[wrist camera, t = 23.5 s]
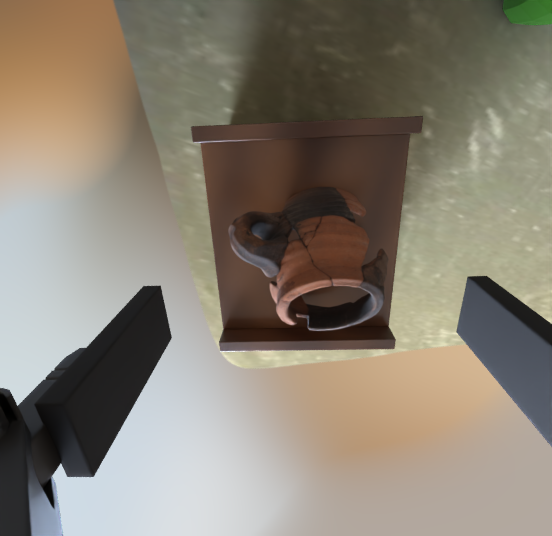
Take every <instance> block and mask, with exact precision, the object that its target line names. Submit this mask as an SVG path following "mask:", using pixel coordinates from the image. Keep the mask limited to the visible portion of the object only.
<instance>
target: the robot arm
mask: <svg viewBox="0 0 552 536" xmlns="http://www.w3.org/2000/svg"><path fill="white" fill-rule="evenodd" d="M457 333H458V334H459V336H460V337H461V338H462V339H463V340H464V342H465V343H466V344H467V345H468V346H469V348H470V349H471V350H472V351H473V352H474V354H475V355H476V356H477V357H478V358H479V360H480V361H481V362H482V363H483V364H484V366H485V367H486V368H487V369H488V371H489V372H490V373H491V374H492V375H493V377H494V378H495V379H496V380H497V381H498V383H499V384H500V385H501V386H502V387H503V389H504V390H505V391H506V392H507V393H508V395H509V396H510V397H511V398H512V399H513V401H514V402H515V403H516V404H517V405H518V407H519V408H520V409H521V410H522V411H523V413H524V414H525V415H526V416H527V417H528V419H529V420H530V421H531V422H532V424H533V425H534V426H535V427H536V428H537V430H538V431H539V432H540V433H541V434H542V436H543V437H544V438H545V439H546V440H547V442H548V443H549V444H550V445H551V446H552V324H551V323H550V322H548V321H547V320H545V319H544V318H543V317H541V316H540V315H539V314H537V313H536V312H535V311H533V310H532V309H531V308H529V307H528V306H527V305H525V304H524V303H522V302H521V301H520V300H518V299H517V298H516V297H514V296H513V295H512V294H510V293H509V292H508V291H506V290H505V289H504V288H502V287H501V286H499V285H498V284H497V283H495V282H494V281H493V280H491V279H490V278H489V277H487V276H471V277H468V278H467V283H466V288H465V292H464V297H463V302H462V307H461V312H460V317H459V322H458V327H457ZM171 338H172V337H171V332H170V328H169V323H168V318H167V314H166V309H165V304H164V300H163V295H162V290H161V286H143V287H142V289H140V291H139V292H138V293H137V294H136V295H135V296H134V297H133V298H132V299H131V300H130V301H129V303H127V305H126V306H125V307H124V308H123V309H122V310H121V311H120V312H119V313H118V314H117V315H116V317H115V318H114V319H113V320H112V321H111V322H110V323H109V324H108V325H107V326H106V327H105V328H104V329H103V331H102V332H101V333H100V334H99V335H98V336H97V337H96V338H95V339H94V340H93V341H92V342H91V344H89V346H88V347H87V348H79V349H78V350H76V351H75V352H73V353H72V354H70V355H69V356H67V357H66V358H64V359H63V360H62V361H61V362H60V363H59V365H58V366H57V367H56V368H55V370H54V371H52V372H51V373H50V374H49V375H48V376H47V377H46V379H45V380H43V381H42V382H41V383H40V384H39V385H38V386H37V387H36V388H35V389H34V390H33V391H32V392H31V393H30V394H29V395H28V396H27V397H26V398H25V399H24V400H23V401H22V402H21V403H20V404H19V405H18V406H17V405H16V402H15V400H14V398H13V396H12V394H11V392H10V390H7V389H4V388H0V536H63V531H62V524H61V517H60V511H59V503H58V497H57V490H56V484H55V482H54V480H53V477H52V475H53V474H54V472H55V471H56V469H57V468H58V466H59V465H60V463H61V464H62V466H63V468H64V470H65V472H66V475H67V477H94V475H95V473H96V472H97V470H98V468H99V466H100V464H101V463H102V461H103V459H104V457H105V455H106V454H107V452H108V450H109V448H110V447H111V445H112V443H113V441H114V440H115V438H116V436H117V434H118V432H119V431H120V429H121V427H122V425H123V423H124V422H125V420H126V418H127V416H128V415H129V413H130V411H131V409H132V408H133V406H134V404H135V402H136V400H137V398H138V397H139V395H140V393H141V392H142V390H143V388H144V386H145V384H146V383H147V381H148V379H149V377H150V375H151V374H152V372H153V370H154V368H155V366H156V365H157V363H158V361H159V360H160V358H161V356H162V354H163V352H164V350H165V349H166V347H167V345H168V344H169V342H170V340H171Z"/></svg>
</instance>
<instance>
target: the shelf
mask: <svg viewBox="0 0 552 536" xmlns="http://www.w3.org/2000/svg"><path fill="white" fill-rule="evenodd" d="M422 122H423V116H413V117H391V118H369V119H347V120H325V121H302V122H280V123H258V124H236V125H214V126H192V127H191V131H192V138H193V143H201V150H202V158H203V167H204V175H205V183H206V191H207V199H208V208H209V216H210V224H211V232H212V240H213V249H214V257H215V265H216V273H217V281H218V289H219V298H220V306H221V314H222V322H223V332H222V335H221V338H220V341H219V345H220V351H221V352H222V351H289V350H356V349H394V348H395V340H396V339H395V337H394V336H393V334H392V332H391V330H390V328H389V318H390V309H391V300H392V291H393V282H394V273H395V264H396V255H397V246H398V237H399V228H400V219H401V210H402V201H403V192H404V183H405V174H406V165H407V156H408V147H409V138H410V134H411V133H421V130H422ZM316 187H334V188H339V189H342V190H345V191H347V192H350V193H351V194H353V195H354V196H356V197H357V199H358V201H359V202H360V203H361V204H362V205H363V207H364V208H365V210H366V215H365V216H363V217H361V216H360V215H358V214H356V213H355V212H352V211H351V210H350V211H351V213H352V214H353V216H354V218H355V220H356V221H355V224H356V225H358V226H360V227H362V228H363V229H364V230H365V232H366V233H367V236H368V238H369V245H368V249H367V252H366V254H365V259H364V261H363V263H362V266H363V265H365V264H368V263H369V262H371V261H372V260H373V259H374V258H376V257H377V253H378V251H379V249H384V251H385V252H386V255H387V257H388V264H387V276H386V278H385V281H384V287H385V288H384V297H385V299H384V303H383V306H382V308H381V309H380V310H379V312H378V313H376V314H375V315H374V316H372V317H371V318H369V319H367V320H365V321H363V322H361V323H358V324H355V325H351V326H349V327H345V328H342V329H336V330H326V331H312V330H309V329H308V320H307V318H303V317H297V323H296V324H294V325H289V324H287V323H285V322H284V321H282V320H281V318H280V317H279V316H278V314H277V311H276V308H277V303H276V302H275V301H274V299H273V297H272V295H271V291H270V282H271V281H274V282H276V283H277V275H276V276H274V277H267V276H266V275H265V274H264V272H263V271H262V269H261V268H259V267H257V266H255V265H253V264H250V263H247V262H245V261H244V260H242V259H241V258H240V257H238V256H237V255H236V253H235V252H234V251H233V249H232V247H231V242H230V236H229V232H228V229H229V227H230V225H231V224H232V223H233V221H234V220H235V219H236V218H237V217H238V216H240V215H243V214H245V213H247V212H250V211H260V212H267V213H275V212H282V210H283V207H284V206H285V203H286V201H287V200H288V199H289V198H291V197H292V196H294V195H295V194H297V193H299V192H301V191H303V190H306V189H310V188H316ZM255 236H256V237H258V238H260V239H261V237H260V236H258V235H255ZM294 239H299V236H298V234H297V232H296V231H295V230H292V232H291V234H290V235H289V237H288V242H290V241H291V240H294ZM368 293H369V292H367V291H365V290H363V289H361V288H359V287H351V286H334V285H332V286H329V287H323V288H318V289H315V290H312V291H309V292H307V293H304V294H302V295H301V296H302V298H303V300H304V302H305V303H306V304H310V305H316V306H321V307H333V306H338V305H341V304H344V303H348V302H352V303H354V302H355V301H357V300H358V299H360V298H361V297H363V296H365V295H367V294H368Z"/></svg>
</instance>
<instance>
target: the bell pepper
mask: <svg viewBox="0 0 552 536" xmlns="http://www.w3.org/2000/svg"><path fill="white" fill-rule="evenodd" d="M503 11H504V13H505V15H506V16H507V18H508V20H509V21H510V22H511V23H516V24H525V25H545V24H552V0H504V3H503Z"/></svg>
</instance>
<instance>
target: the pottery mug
mask: <svg viewBox="0 0 552 536" xmlns="http://www.w3.org/2000/svg"><path fill="white" fill-rule="evenodd" d="M350 210H351V211H352V212H355V213H356V214H358V215H360V216H361V217H363V216H365V215H366V210H365V208H364V207H363V205H362V204H361V203H360V202H359V201H358V199H357V197H356V196H354V195H353V194H351V193H350V192H347V191H345V190H342V189H339V188H334V187H316V188H310V189H306V190H303V191H301V192H299V193H297V194H295V195H294V196H292V197H291V198H289V199H288V200H287V201H286V203H285V206H284V207H283V210H282V212H275V213H267V212H260V211H250V212H247V213H245V214H243V215H240V216H238V217H237V218H236V219H235V220H234V221H233V223H232V224H231V225H230V227H229V229H228V232H229V236H230V242H231V247H232V249H233V251H234V252H235V253H236V255H237V256H238V257H240V258H241V259H242V260H244V261H245V262H247V263H250V264H253V265H255V266H257V267H259V268H261V269H262V271H263V272H264V274H265V275H266V276H267V277H274V276H276V275H277V283H276V282H274V281H271V282H270V291H271V295H272V297H273V299H274V301H275V302H276V303H277V308H276V311H277V314H278V316H279V317H280V318H281V320H282V321H284V322H285V323H287V324H289V325H294V324H296V323H297V317H303V318H307V320H308V329H309V330H312V331H326V330H336V329H342V328H345V327H349V326H351V325H355V324H358V323H361V322H363V321H365V320H367V319H369V318H371V317H372V316H374V315H375V314H376V313H378V312H379V310H380V309H381V308H382V306H383V303H384V299H385V297H384V288H385V287H384V281H385V278H386V276H387V264H388V257H387V255H386V252H385V251H384V249H379V251H378V253H377V257H376V258H374V259H373V260H372V261H371V262H369V263H368V264H365V265H363V266H362V263H363V261H364V259H365V254H366V252H367V249H368V245H369V238H368V236H367V233H366V232H365V230H364V229H363V228H362V227H360V226H358V225H356V224H355V221H356V220H355V218H354V216H353V214H352V213H351V211H350ZM292 230H295V231H296V232H297V234H298V236H299V239H294V240H291V241H290V242H288V237H289V235H290V234H291V232H292ZM255 235H258V236H260V237H261V239H260V238H258V237H256V236H255ZM332 285H334V286H351V287H359V288H361V289H363V290H365V291H367V292H369V293H368V294H367V295H365V296H363V297H361V298H360V299H358V300H357V301H355V302H354V303H352V302H348V303H344V304H341V305H338V306H333V307H321V306H316V305H310V304H306V303H305V302H304V300H303V298H302V296H301V295H302V294H304V293H307V292H309V291H312V290H315V289H318V288H323V287H329V286H332Z"/></svg>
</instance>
